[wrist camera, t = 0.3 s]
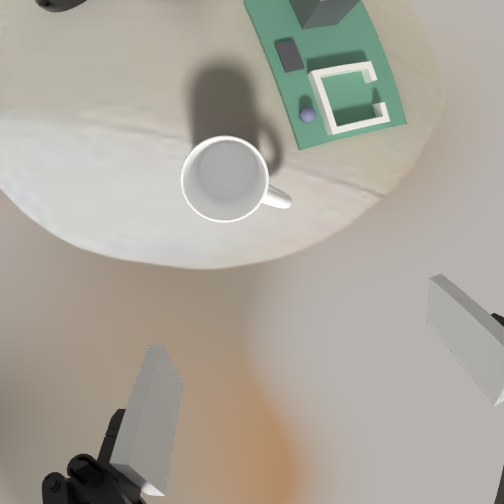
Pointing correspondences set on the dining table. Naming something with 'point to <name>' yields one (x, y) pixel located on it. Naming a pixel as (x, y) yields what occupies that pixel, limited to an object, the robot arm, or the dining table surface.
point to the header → (324, 103)
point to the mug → (228, 180)
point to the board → (319, 57)
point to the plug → (321, 12)
